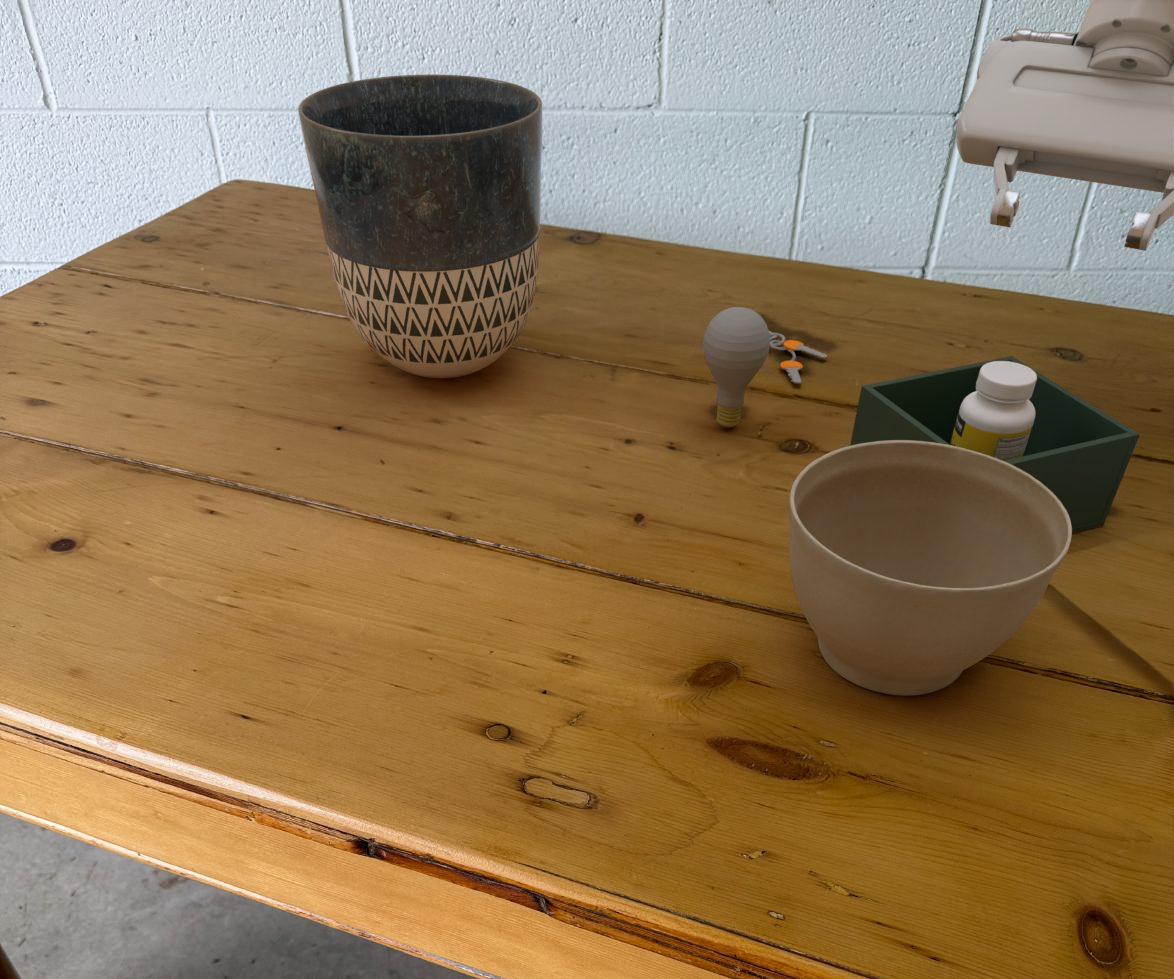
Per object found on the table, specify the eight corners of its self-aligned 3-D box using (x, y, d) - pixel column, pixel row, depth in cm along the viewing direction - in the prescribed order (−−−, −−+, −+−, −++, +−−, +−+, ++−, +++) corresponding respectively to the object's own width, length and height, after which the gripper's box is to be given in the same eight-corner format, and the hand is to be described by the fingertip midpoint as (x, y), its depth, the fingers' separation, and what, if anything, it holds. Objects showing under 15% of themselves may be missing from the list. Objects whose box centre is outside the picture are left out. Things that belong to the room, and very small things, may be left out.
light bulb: (763, 416, 93) (778, 300, 86) (753, 445, 89) (768, 326, 82) (702, 408, 94) (712, 292, 87) (690, 437, 90) (700, 318, 83)
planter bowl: (717, 651, 69) (734, 504, 62) (860, 555, 77) (891, 415, 70) (927, 775, 61) (977, 624, 54) (1062, 654, 69) (1123, 507, 62)
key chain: (702, 341, 103) (703, 332, 103) (757, 324, 107) (758, 315, 106) (793, 388, 96) (794, 379, 96) (849, 368, 99) (851, 359, 99)
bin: (986, 442, 90) (1011, 355, 84) (1103, 526, 80) (1140, 434, 75) (843, 474, 86) (861, 385, 80) (950, 565, 76) (977, 471, 71)
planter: (303, 393, 95) (250, 122, 80) (398, 313, 108) (367, 66, 93) (502, 427, 91) (486, 147, 76) (576, 339, 104) (575, 85, 89)
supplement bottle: (924, 482, 84) (955, 361, 77) (982, 472, 85) (1019, 351, 78) (962, 517, 80) (999, 393, 73) (1022, 505, 81) (1064, 382, 74)
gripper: (995, -6, 75) (921, 184, 76) (1314, 24, 67) (1228, 233, 68) (994, 57, 81) (926, 232, 82) (1287, 90, 73) (1209, 282, 74)
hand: (1066, 233), depth 75 cm, fingers open, 8 cm apart
